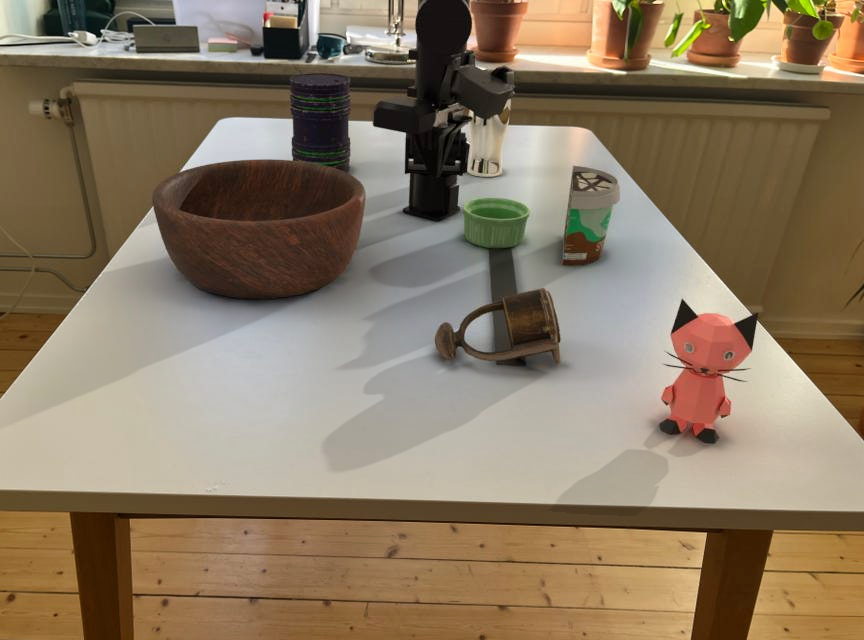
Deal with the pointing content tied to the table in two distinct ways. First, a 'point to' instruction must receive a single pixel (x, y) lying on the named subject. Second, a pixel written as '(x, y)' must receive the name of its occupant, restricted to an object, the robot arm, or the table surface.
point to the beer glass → (487, 143)
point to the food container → (588, 214)
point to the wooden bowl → (260, 225)
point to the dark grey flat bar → (501, 287)
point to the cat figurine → (704, 368)
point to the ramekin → (495, 222)
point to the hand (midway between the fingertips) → (434, 176)
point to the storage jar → (321, 119)
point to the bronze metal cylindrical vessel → (510, 328)
